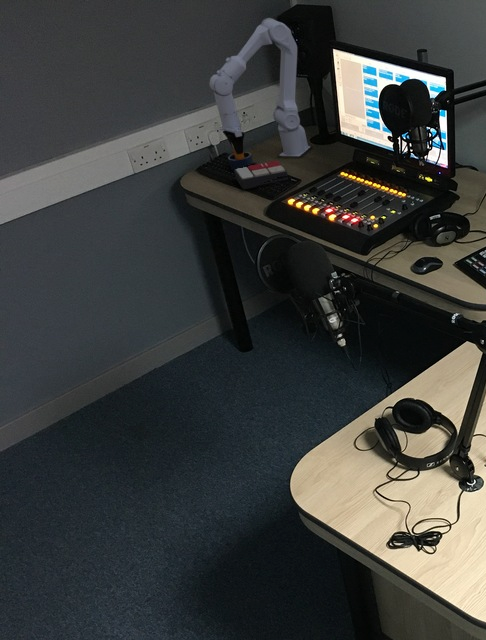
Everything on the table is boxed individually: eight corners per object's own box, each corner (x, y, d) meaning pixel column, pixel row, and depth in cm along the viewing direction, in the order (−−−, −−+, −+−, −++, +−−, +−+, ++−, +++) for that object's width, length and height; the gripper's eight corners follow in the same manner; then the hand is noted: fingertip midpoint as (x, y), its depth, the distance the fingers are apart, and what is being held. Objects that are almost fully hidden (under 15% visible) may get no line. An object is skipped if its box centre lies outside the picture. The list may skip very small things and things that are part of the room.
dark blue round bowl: (237, 162, 294) (235, 151, 292) (258, 163, 292) (255, 152, 290) (226, 171, 288) (223, 160, 286) (247, 171, 286) (244, 160, 284)
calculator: (286, 169, 276) (240, 177, 270) (289, 181, 278) (243, 190, 272) (278, 159, 284) (233, 167, 278) (280, 171, 286) (235, 179, 280)
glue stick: (240, 164, 291) (234, 140, 286) (248, 164, 291) (241, 140, 286) (236, 167, 289) (229, 143, 284) (244, 167, 288) (237, 143, 283)
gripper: (210, 109, 283) (221, 149, 291) (222, 120, 272) (233, 160, 280) (230, 105, 285) (241, 144, 293) (243, 115, 275) (253, 155, 283)
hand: (238, 152), depth 287 cm, fingers closed on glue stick, 3 cm apart
